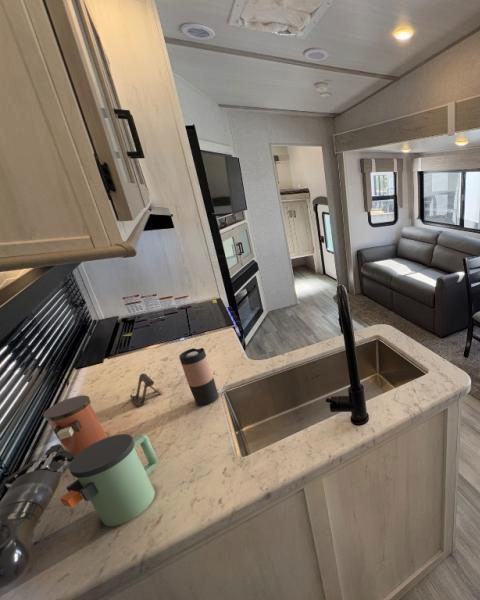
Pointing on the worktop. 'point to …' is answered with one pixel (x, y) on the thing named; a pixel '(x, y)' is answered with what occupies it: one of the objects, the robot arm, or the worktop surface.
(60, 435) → the button
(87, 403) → the terracotta jug
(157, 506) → the worktop surface
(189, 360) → the travel mug
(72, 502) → the orange cube
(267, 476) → the worktop surface
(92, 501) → the sage jug
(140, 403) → the tablet stand
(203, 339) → the worktop surface
